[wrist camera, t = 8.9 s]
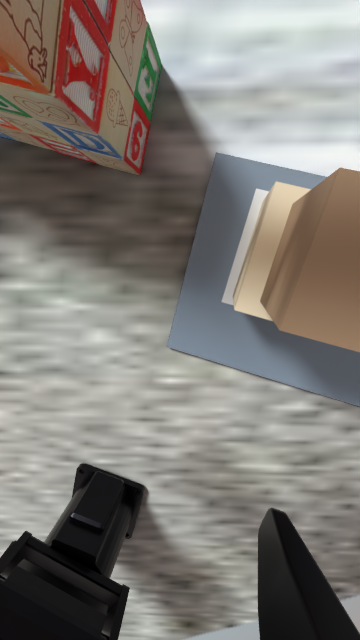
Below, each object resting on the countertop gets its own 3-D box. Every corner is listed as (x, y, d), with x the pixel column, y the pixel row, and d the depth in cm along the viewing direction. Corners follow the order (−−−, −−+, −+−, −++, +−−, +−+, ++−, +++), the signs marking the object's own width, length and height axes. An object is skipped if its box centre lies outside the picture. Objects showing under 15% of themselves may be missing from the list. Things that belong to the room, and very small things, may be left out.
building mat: (371, 407, 18) (374, 411, 17) (167, 345, 19) (166, 347, 19) (479, 213, 14) (487, 212, 14) (216, 154, 16) (216, 152, 15)
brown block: (354, 326, 12) (437, 373, 7) (259, 301, 13) (279, 330, 8) (399, 227, 11) (536, 206, 6) (292, 203, 11) (339, 167, 6)
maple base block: (322, 321, 17) (356, 345, 12) (232, 296, 17) (234, 310, 13) (364, 225, 15) (420, 213, 11) (262, 201, 15) (276, 181, 11)
